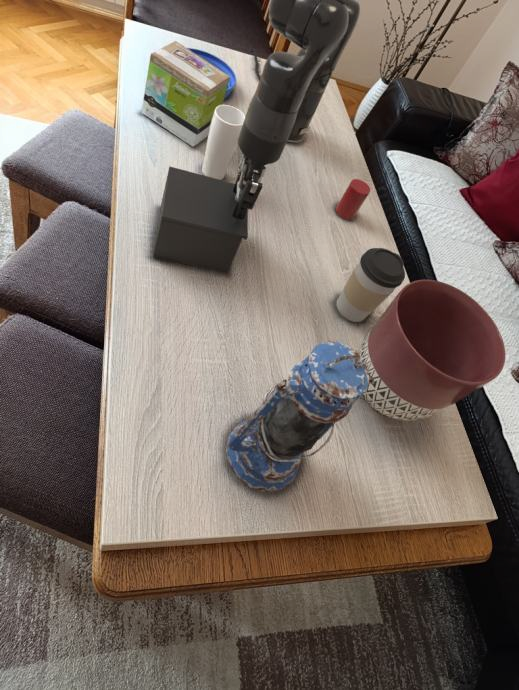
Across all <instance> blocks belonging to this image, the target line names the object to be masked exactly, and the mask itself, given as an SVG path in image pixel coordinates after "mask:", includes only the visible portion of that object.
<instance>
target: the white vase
mask: <svg viewBox="0 0 519 690" xmlns="http://www.w3.org/2000/svg"><path fill="white" fill-rule="evenodd" d="M245 117H246V114H244V112H243V111H242V110H241V109H238V108H237V107H236V106H233V105H229V104H222V105H219V106H217V107H216V108H215V111H214V114H213V117H212V121H211V124H210V129H209V134H208V136H207V141H206V147H205V153H204V157H203V162H202V166H201V173H202V175H204V176H208V177H211V178H215V179H219V180H223V179H224V178H225V176H226V173H227V170H228V168H229V166H230V164H231V161H232V159H233V157H234V155H235V152H236V150H237V148H238V147H239V146H238V138H239V135H240V132H241V129H242V126H243V123H244V120H245Z"/></svg>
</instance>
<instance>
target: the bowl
mask: <svg viewBox="0 0 519 690" xmlns="http://www.w3.org/2000/svg"><path fill="white" fill-rule="evenodd" d="M186 48H187V49H189V50H190V51H192V52H193V53H195V54H197V55H198V56H200V57H201V58H203V59H204V60H206V61H207V62H209V63H210V64H212V65H213V66H215V67H216V68H218V69H220V70H221V71H223V72H224V73H226V74H227V75H229V76H230V79H229V83H228V86H227V90H226V93H225V97H224V100H225V99H227V98H228V97H229V96H230V95H231V93H232V91H233V90H234V88H235V86H236V84H237V75H236V74H235V71H234V70H233V69H232V67H231V66H230V65H229V64H228V63H227V62H225V61H224V60H223V59H222V58H220V57H218V56H216V55H214V54H212V53H210V52H207V51H205V50H202V49H197V48H192V47H186Z"/></svg>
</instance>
